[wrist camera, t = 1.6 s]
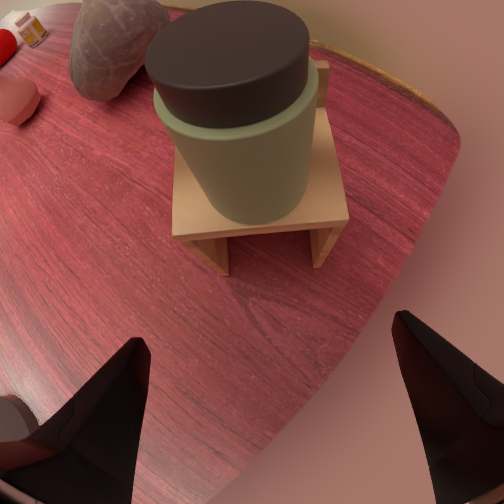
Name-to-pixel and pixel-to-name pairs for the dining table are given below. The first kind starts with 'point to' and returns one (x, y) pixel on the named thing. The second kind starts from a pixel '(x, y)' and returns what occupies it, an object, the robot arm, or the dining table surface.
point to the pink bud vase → (17, 99)
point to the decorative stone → (112, 44)
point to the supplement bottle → (30, 29)
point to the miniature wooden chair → (300, 218)
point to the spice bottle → (239, 104)
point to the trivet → (15, 419)
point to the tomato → (6, 45)
